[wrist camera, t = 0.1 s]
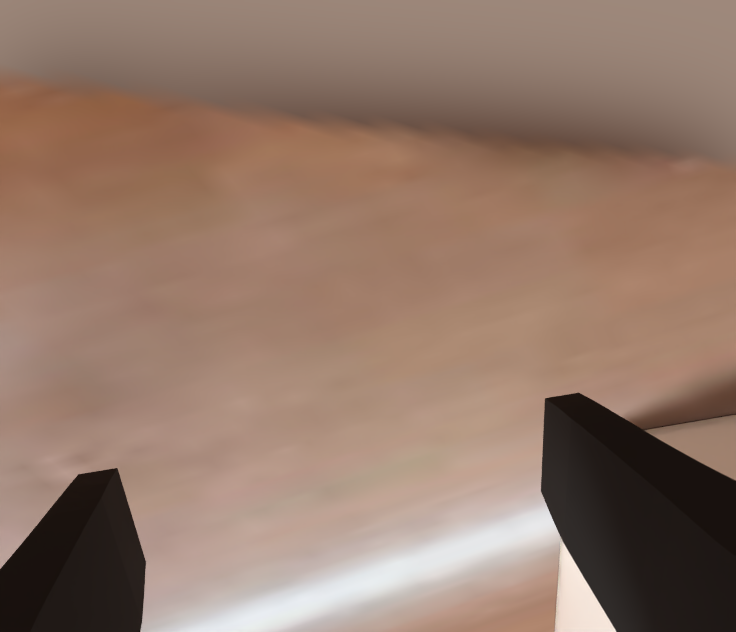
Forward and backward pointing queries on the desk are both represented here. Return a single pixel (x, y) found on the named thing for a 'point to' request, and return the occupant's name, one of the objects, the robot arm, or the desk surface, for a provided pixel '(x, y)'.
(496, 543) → the desk surface
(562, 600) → the white box
